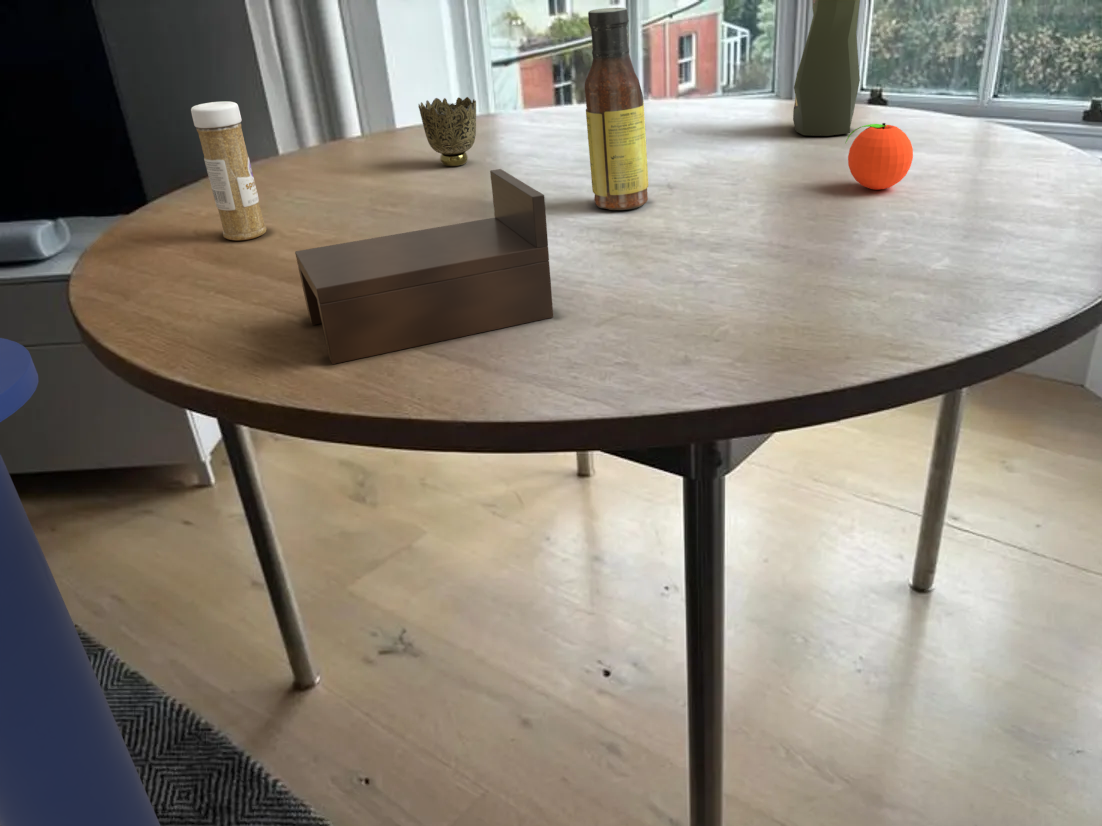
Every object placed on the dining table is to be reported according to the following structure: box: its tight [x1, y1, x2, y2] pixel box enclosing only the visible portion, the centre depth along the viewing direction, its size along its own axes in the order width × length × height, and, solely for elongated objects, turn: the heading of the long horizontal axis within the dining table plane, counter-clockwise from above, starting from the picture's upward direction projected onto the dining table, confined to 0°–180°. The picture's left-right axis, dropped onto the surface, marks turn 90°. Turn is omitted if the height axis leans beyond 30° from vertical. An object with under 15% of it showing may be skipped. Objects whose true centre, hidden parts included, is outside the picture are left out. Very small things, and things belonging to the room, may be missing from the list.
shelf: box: [294, 168, 554, 365], centre depth 74 cm, size 18×10×10 cm, turn 115°
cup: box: [418, 96, 477, 167], centre depth 122 cm, size 8×7×8 cm
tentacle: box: [792, 0, 861, 137], centre depth 123 cm, size 9×12×30 cm
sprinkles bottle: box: [190, 101, 267, 241], centre depth 97 cm, size 5×5×14 cm
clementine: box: [844, 122, 914, 191], centre depth 103 cm, size 8×7×7 cm
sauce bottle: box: [584, 7, 649, 211], centre depth 99 cm, size 7×6×20 cm
